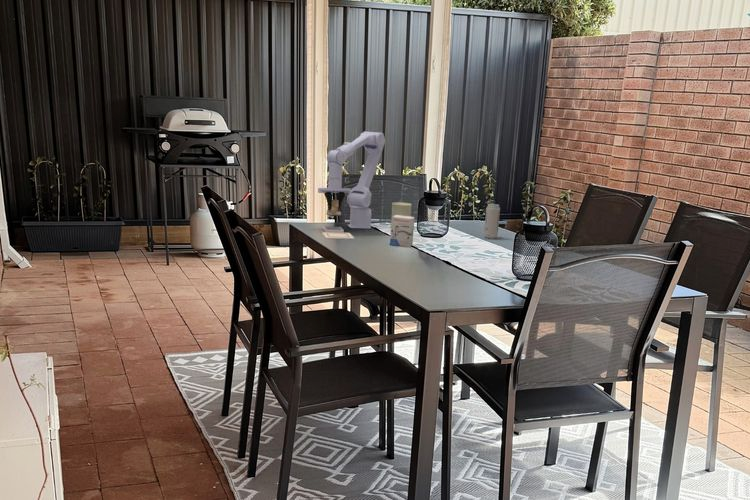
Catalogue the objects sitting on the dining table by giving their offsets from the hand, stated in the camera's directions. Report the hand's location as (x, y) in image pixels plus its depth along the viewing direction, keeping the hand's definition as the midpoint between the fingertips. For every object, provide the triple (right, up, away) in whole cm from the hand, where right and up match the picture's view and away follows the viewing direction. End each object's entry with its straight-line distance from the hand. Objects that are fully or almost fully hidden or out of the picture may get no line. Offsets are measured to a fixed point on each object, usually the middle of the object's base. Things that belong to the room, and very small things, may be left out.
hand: (333, 209), depth 294 cm
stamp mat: (+2, -12, -10) cm, 16 cm away
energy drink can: (+69, -13, +6) cm, 71 cm away
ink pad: (-1, -9, +2) cm, 9 cm away
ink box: (+28, -16, -21) cm, 39 cm away
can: (+30, -8, +18) cm, 36 cm away
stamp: (0, -2, +1) cm, 2 cm away
